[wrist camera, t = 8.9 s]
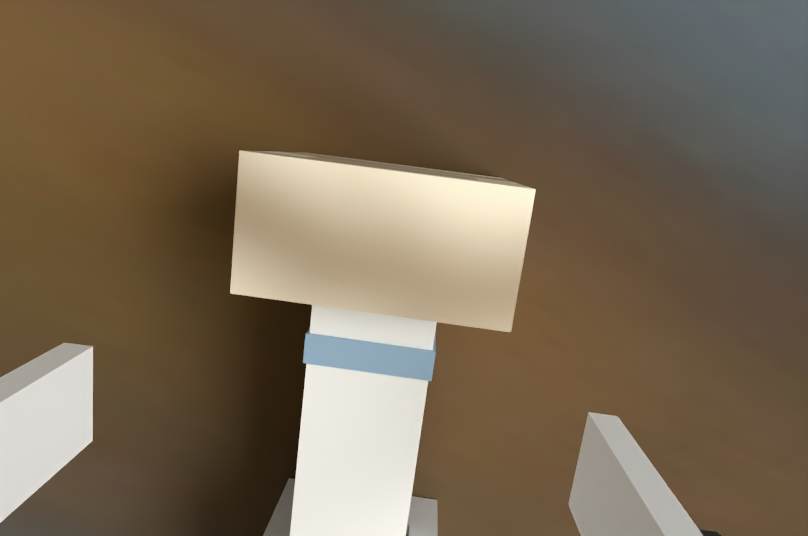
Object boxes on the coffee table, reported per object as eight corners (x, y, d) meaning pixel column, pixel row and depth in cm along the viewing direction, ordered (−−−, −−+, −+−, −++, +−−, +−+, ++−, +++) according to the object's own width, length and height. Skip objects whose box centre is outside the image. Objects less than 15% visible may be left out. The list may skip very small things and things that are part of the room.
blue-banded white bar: (339, 212, 21) (315, 226, 17) (448, 227, 21) (451, 244, 17) (303, 552, 24) (276, 634, 20) (399, 567, 24) (391, 652, 20)
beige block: (307, 152, 23) (239, 150, 15) (499, 177, 23) (536, 189, 15) (299, 247, 24) (229, 293, 16) (484, 272, 24) (510, 332, 16)
